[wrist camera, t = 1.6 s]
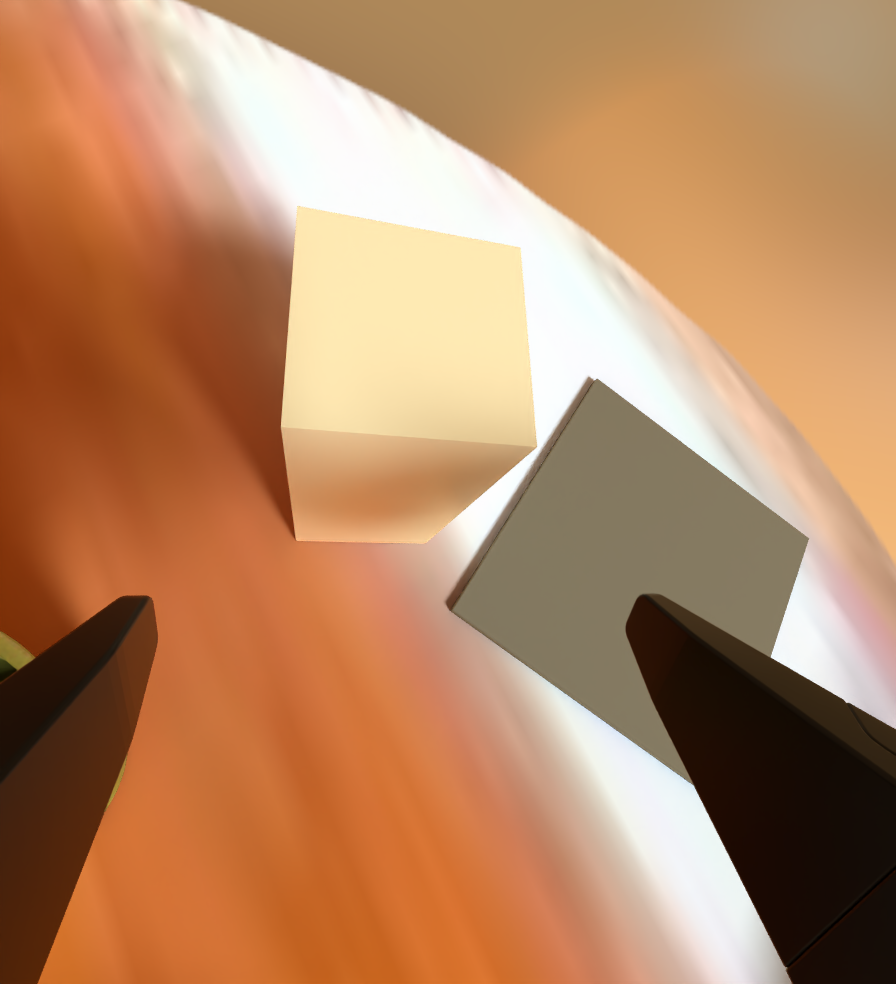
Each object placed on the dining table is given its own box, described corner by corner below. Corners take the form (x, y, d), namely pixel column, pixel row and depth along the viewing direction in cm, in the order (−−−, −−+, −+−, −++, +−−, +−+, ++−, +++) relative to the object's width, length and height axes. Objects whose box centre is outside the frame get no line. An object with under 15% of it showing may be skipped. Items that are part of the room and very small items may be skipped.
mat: (715, 801, 23) (722, 804, 22) (450, 610, 22) (452, 610, 22) (802, 539, 28) (808, 538, 28) (593, 382, 28) (597, 378, 27)
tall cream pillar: (425, 543, 23) (537, 446, 11) (296, 540, 21) (280, 427, 10) (423, 429, 24) (520, 247, 13) (303, 419, 23) (297, 206, 12)
